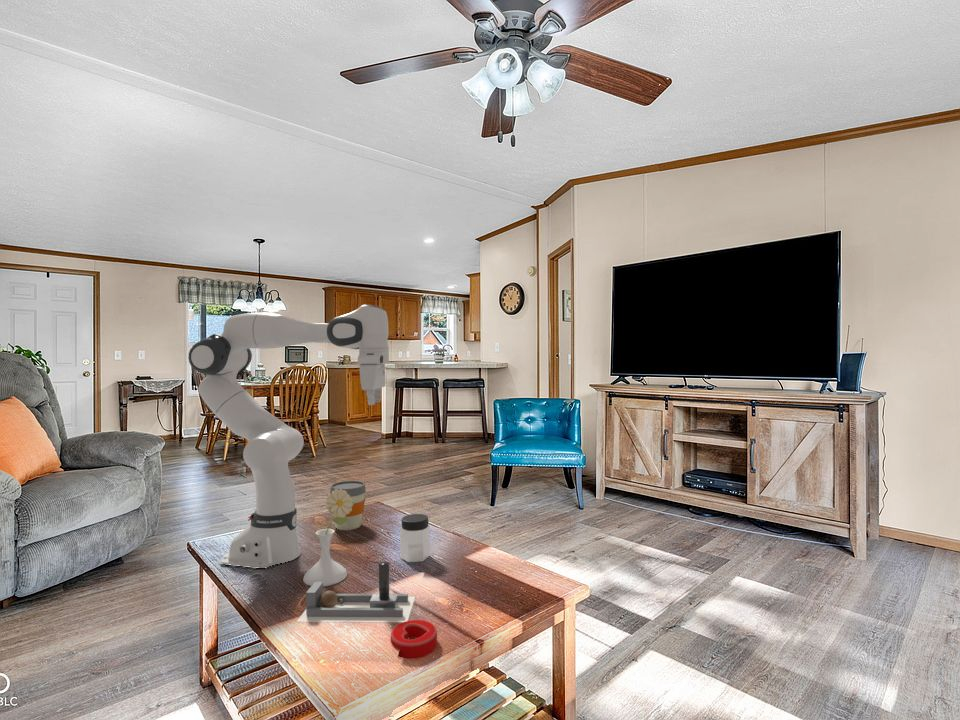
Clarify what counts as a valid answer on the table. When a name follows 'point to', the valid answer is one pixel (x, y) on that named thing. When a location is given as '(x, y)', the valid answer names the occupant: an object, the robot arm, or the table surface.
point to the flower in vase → (326, 567)
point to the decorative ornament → (418, 646)
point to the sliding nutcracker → (353, 608)
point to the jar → (415, 538)
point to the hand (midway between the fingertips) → (374, 403)
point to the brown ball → (328, 599)
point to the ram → (384, 590)
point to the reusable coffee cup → (357, 495)
